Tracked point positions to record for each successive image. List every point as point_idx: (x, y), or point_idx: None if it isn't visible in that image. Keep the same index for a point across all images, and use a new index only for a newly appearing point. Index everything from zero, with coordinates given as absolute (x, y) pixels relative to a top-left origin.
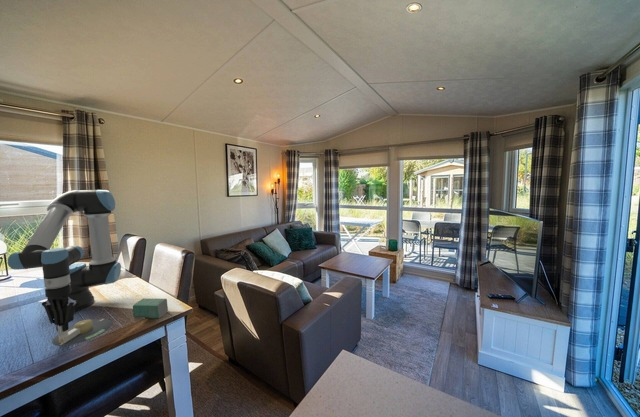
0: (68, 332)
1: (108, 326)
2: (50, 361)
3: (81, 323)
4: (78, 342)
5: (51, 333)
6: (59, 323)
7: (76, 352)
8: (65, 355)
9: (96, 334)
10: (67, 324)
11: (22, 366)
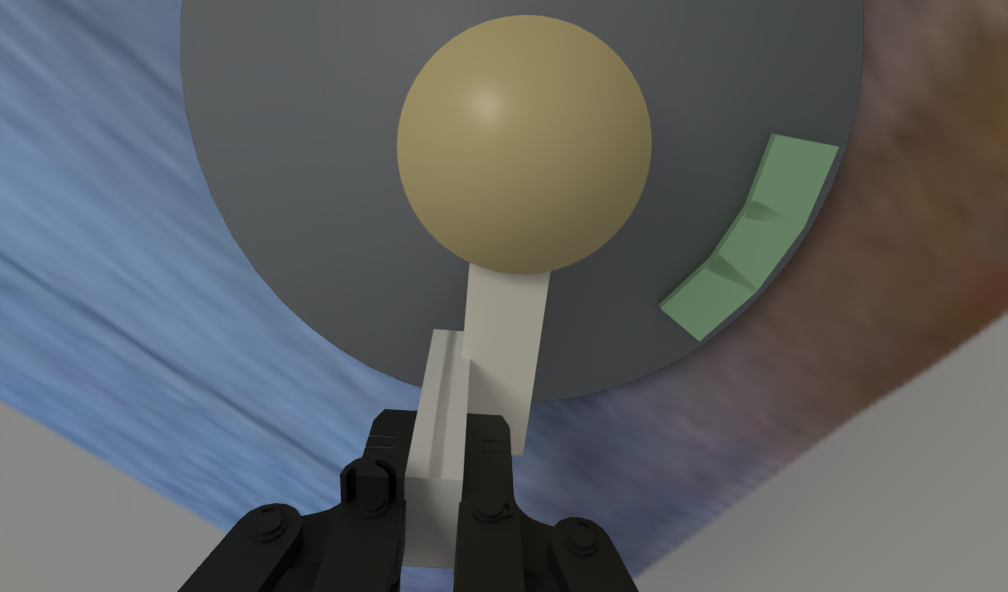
0: (478, 358)
1: (826, 36)
2: (545, 522)
3: (510, 173)
4: (635, 369)
5: (25, 62)
6: (403, 555)
7: (684, 448)
8: (612, 472)
9: (767, 255)
10: (510, 493)
11: None
